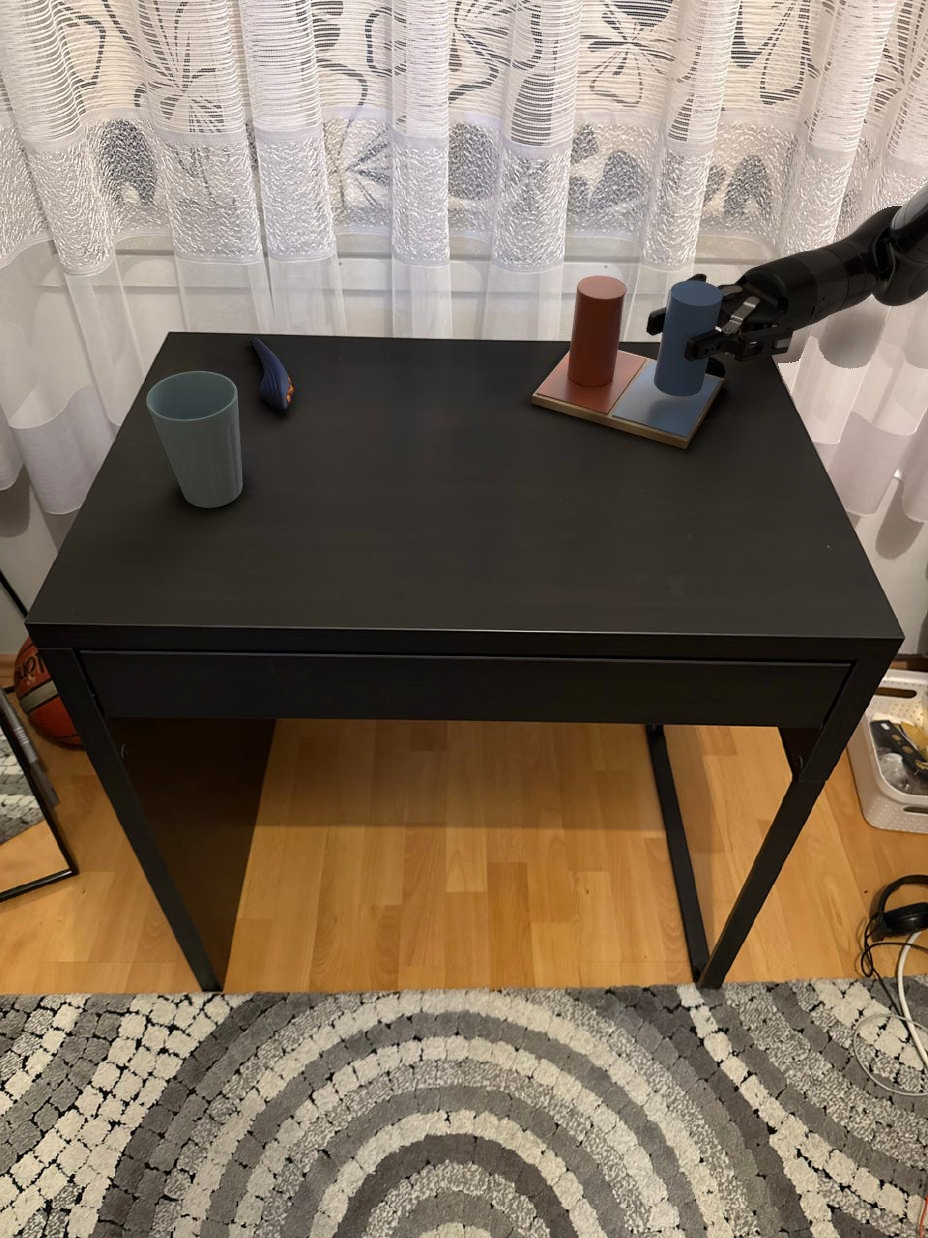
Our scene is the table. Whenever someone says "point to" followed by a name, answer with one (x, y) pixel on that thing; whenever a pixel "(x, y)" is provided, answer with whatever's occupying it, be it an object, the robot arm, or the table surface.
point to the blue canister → (685, 336)
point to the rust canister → (596, 330)
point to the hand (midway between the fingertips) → (669, 337)
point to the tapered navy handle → (273, 377)
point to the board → (630, 401)
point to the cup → (200, 434)
